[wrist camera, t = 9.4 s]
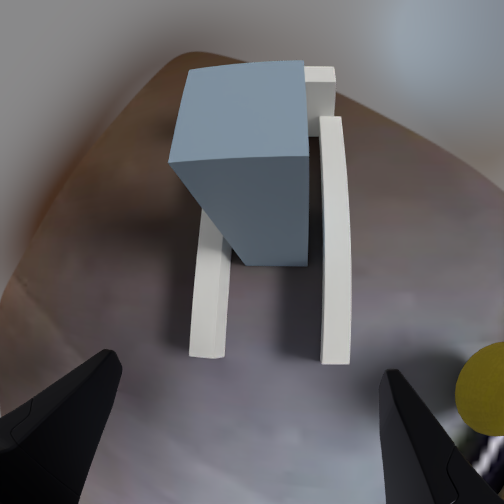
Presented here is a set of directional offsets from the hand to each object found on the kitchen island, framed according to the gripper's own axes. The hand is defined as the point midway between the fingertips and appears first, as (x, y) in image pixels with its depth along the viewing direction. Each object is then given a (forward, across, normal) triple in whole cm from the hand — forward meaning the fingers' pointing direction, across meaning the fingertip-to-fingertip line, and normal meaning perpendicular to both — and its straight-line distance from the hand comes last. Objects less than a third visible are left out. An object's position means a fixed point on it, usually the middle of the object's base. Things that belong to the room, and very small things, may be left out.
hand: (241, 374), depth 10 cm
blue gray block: (+13, 0, +2) cm, 13 cm away
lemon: (+6, -14, +9) cm, 17 cm away
